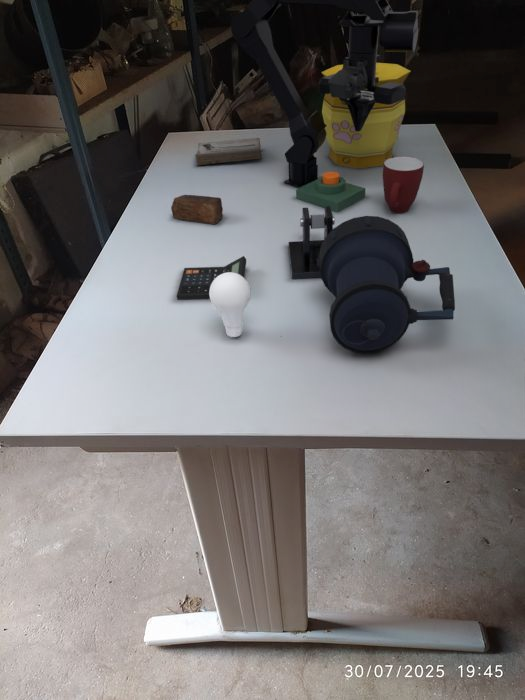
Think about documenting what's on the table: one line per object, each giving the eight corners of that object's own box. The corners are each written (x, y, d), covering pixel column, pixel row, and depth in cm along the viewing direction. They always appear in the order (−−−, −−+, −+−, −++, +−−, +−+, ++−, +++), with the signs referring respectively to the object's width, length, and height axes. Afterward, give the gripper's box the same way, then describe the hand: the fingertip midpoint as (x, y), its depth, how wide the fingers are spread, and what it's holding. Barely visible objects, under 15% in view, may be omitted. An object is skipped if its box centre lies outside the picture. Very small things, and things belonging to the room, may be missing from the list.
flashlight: (316, 288, 93) (433, 283, 92) (323, 375, 78) (464, 371, 77) (316, 212, 83) (448, 205, 82) (325, 295, 68) (487, 288, 67)
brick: (223, 217, 118) (221, 196, 115) (216, 225, 115) (214, 204, 112) (181, 212, 121) (177, 192, 118) (172, 219, 118) (169, 199, 115)
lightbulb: (214, 326, 87) (206, 266, 80) (252, 322, 87) (248, 262, 80) (215, 349, 82) (207, 288, 75) (255, 346, 82) (250, 284, 75)
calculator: (185, 271, 101) (182, 257, 99) (247, 270, 100) (246, 255, 98) (177, 299, 93) (174, 285, 91) (244, 298, 93) (243, 283, 91)
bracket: (288, 247, 106) (287, 199, 100) (339, 244, 106) (341, 196, 99) (292, 279, 97) (290, 229, 90) (347, 276, 96) (350, 225, 90)
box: (262, 160, 142) (261, 148, 140) (196, 166, 142) (195, 154, 141) (261, 148, 150) (260, 136, 149) (199, 153, 151) (198, 142, 149)
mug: (414, 224, 111) (420, 176, 104) (374, 220, 113) (378, 174, 107) (419, 203, 118) (425, 157, 112) (382, 200, 120) (386, 155, 114)
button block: (296, 198, 124) (295, 181, 121) (323, 184, 129) (324, 168, 127) (337, 212, 117) (338, 194, 114) (365, 197, 122) (366, 180, 120)
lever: (300, 228, 106) (299, 216, 105) (325, 227, 106) (325, 214, 105) (304, 229, 95) (303, 215, 94) (332, 227, 95) (332, 213, 94)
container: (356, 179, 131) (362, 64, 115) (304, 156, 145) (303, 51, 129) (418, 158, 139) (432, 49, 123) (363, 138, 153) (369, 38, 138)
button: (319, 183, 121) (319, 175, 120) (329, 178, 123) (329, 170, 122) (332, 187, 119) (332, 179, 118) (342, 181, 121) (342, 174, 120)
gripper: (301, 53, 110) (302, 132, 120) (378, 63, 99) (371, 149, 109) (335, 44, 116) (333, 120, 125) (411, 52, 105) (402, 134, 115)
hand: (358, 130), depth 119 cm, fingers closed
